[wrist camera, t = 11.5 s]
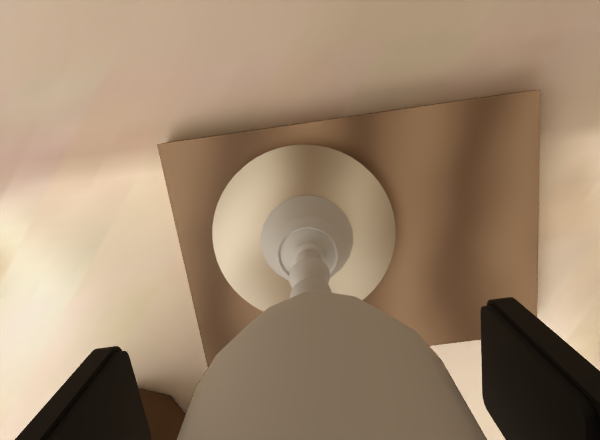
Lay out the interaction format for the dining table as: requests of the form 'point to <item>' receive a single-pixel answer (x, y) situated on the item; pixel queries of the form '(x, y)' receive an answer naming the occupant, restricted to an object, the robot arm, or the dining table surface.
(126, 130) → the dining table surface
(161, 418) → the beer bottle
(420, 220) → the walnut board
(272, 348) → the chalice
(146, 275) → the dining table surface
